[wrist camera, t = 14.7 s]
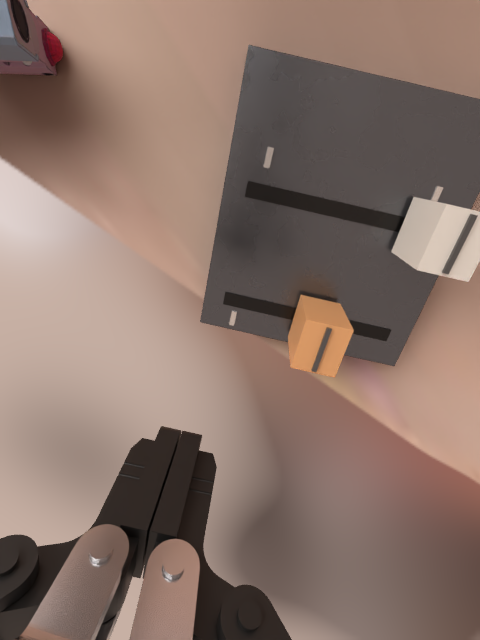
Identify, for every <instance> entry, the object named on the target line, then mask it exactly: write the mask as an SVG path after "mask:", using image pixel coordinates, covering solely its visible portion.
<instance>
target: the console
mask: <svg viewBox="0 0 480 640" xmlns="http://www.w3.org/2000/svg"><path fill="white" fill-rule="evenodd" d="M479 192H480V99H477V98H472V97H468V96H464V95H460V94H455V93H451V92H447V91H443V90H438V89H434V88H430V87H426V86H421V85H417V84H413V83H409V82H404V81H400V80H396V79H392V78H387V77H383V76H379V75H375V74H370V73H366V72H362V71H358V70H353V69H349V68H345V67H341V66H336V65H332V64H328V63H324V62H320V61H315V60H311V59H307V58H303V57H298V56H294V55H290V54H286V53H281V52H277V51H273V50H269V49H264V48H260V47H256V46H252V45H249V46H248V52H247V58H246V63H245V69H244V75H243V80H242V86H241V92H240V98H239V103H238V109H237V115H236V120H235V126H234V132H233V138H232V143H231V149H230V155H229V160H228V166H227V172H226V178H225V183H224V189H223V195H222V200H221V206H220V212H219V218H218V223H217V229H216V235H215V240H214V246H213V252H212V258H211V263H210V269H209V275H208V280H207V286H206V292H205V298H204V303H203V310H202V315H201V320H200V322H202V323H206V324H211V325H215V326H220V327H224V328H229V329H233V330H237V331H242V332H246V333H250V334H255V335H259V336H264V337H268V338H272V339H277V340H281V341H286V342H288V334H289V331H290V328H291V325H292V321H293V318H294V315H295V312H296V308H297V305H298V302H299V299H300V295H305V296H309V297H313V298H318V299H322V300H327V301H331V302H335V303H340V304H341V306H342V308H343V310H344V312H345V314H346V316H347V318H348V320H349V322H350V324H351V326H352V328H353V330H354V331H353V334H352V336H351V339H350V341H349V344H348V346H347V349H346V351H345V353H344V355H347V356H352V357H356V358H360V359H365V360H369V361H374V362H378V363H382V364H387V365H391V366H395V364H396V362H397V360H398V358H399V356H400V354H401V351H402V349H403V347H404V345H405V343H406V341H407V339H408V337H409V335H410V333H411V331H412V329H413V327H414V325H415V323H416V321H417V319H418V317H419V315H420V313H421V311H422V308H423V306H424V304H425V302H426V300H427V298H428V296H429V294H430V292H431V290H432V288H433V286H434V284H435V282H436V280H437V278H438V276H439V275H436V274H431V273H427V272H423V271H418V270H416V269H414V268H413V267H412V266H410V265H409V264H407V263H406V262H405V261H403V260H402V259H400V258H399V257H398V256H396V255H395V254H393V253H392V252H391V251H392V249H393V246H394V244H395V241H396V239H397V236H398V234H399V232H400V229H401V227H402V224H403V222H404V219H405V217H406V214H407V212H408V210H409V207H410V205H411V202H412V200H413V197H417V198H422V199H426V200H431V201H436V202H440V203H445V204H449V205H454V206H458V207H462V208H467V209H471V208H472V206H473V204H474V202H475V200H476V198H477V196H478V194H479Z"/></svg>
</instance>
